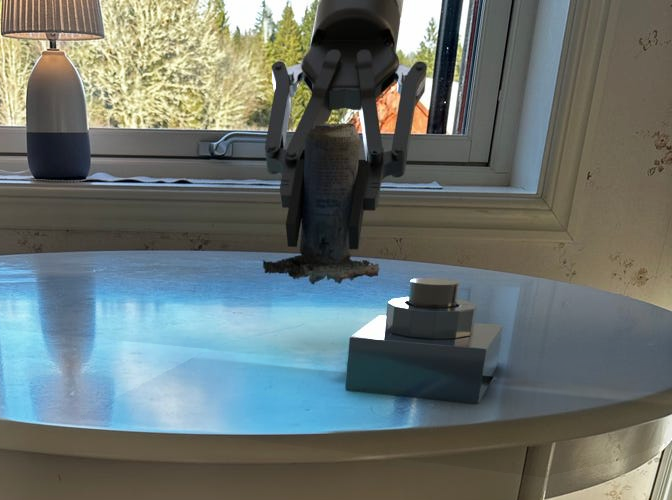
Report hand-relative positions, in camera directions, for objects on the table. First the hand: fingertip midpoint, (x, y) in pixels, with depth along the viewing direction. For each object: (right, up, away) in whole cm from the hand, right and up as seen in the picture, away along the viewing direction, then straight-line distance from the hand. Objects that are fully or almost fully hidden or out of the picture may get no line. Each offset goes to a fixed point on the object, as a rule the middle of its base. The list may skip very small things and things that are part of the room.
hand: (322, 236), depth 79 cm
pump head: (+8, -8, -6) cm, 12 cm away
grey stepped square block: (+8, -13, -3) cm, 15 cm away
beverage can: (+1, -2, +5) cm, 6 cm away
